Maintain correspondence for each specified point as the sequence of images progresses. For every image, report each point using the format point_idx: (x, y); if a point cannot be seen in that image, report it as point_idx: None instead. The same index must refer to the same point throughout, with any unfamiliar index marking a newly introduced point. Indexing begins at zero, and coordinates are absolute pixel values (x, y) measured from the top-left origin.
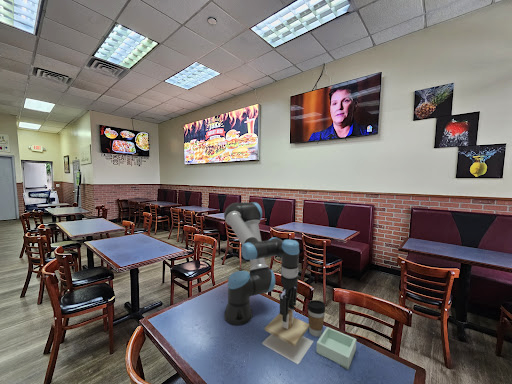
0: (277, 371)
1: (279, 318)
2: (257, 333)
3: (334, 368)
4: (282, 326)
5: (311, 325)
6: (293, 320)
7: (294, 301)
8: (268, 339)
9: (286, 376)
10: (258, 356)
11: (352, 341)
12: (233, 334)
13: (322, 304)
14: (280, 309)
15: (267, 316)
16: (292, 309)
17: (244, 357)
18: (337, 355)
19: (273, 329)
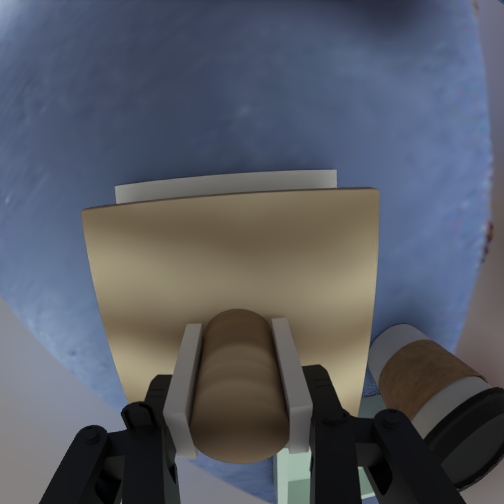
0: (71, 340)
1: (276, 233)
2: (174, 99)
3: (249, 464)
4: (187, 327)
5: (387, 383)
6: (332, 336)
7: (377, 495)
8: (168, 194)
9: (84, 374)
10: (57, 229)
11: (367, 493)
12: (84, 24)
13: (486, 462)
14: (61, 479)
15: (357, 53)
16: (307, 446)
17: (16, 184)
18: (276, 488)
19: (117, 279)
